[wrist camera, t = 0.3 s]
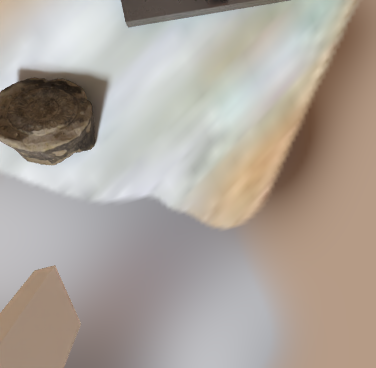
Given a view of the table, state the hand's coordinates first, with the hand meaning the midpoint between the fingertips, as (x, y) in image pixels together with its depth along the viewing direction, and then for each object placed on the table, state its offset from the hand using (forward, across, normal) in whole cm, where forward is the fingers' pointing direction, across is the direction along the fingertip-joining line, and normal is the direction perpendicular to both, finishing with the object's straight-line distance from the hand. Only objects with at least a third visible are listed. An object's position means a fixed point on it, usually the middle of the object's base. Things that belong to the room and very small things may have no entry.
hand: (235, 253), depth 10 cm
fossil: (+27, -15, +7) cm, 32 cm away
